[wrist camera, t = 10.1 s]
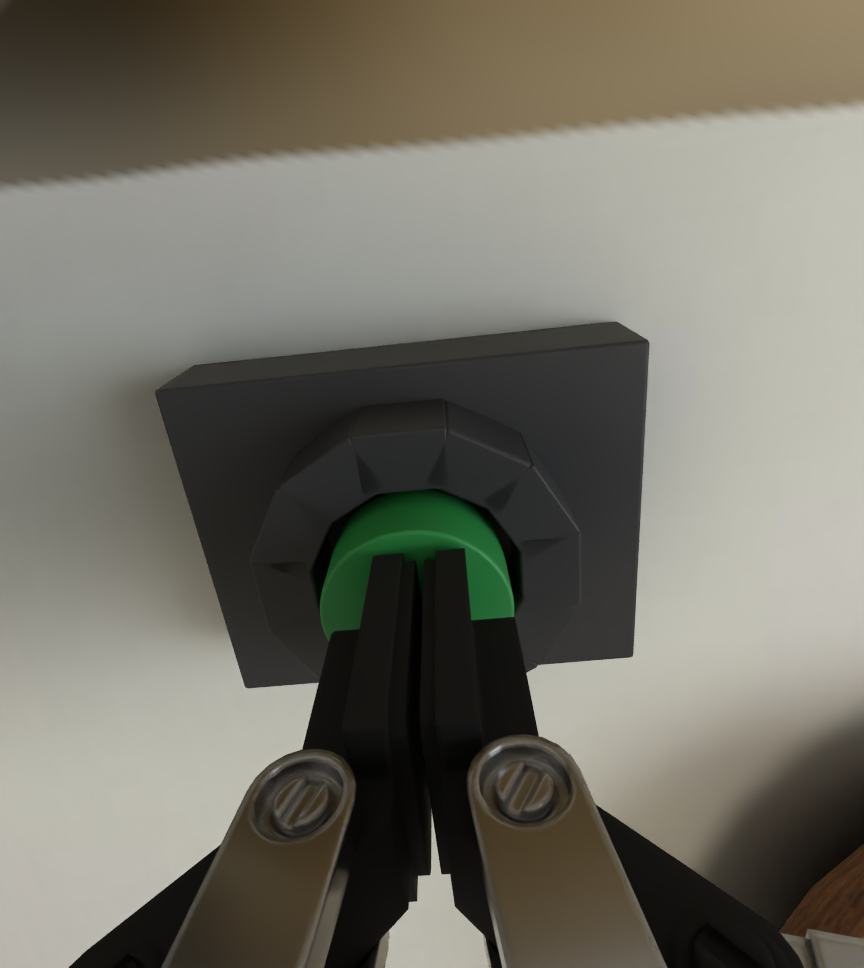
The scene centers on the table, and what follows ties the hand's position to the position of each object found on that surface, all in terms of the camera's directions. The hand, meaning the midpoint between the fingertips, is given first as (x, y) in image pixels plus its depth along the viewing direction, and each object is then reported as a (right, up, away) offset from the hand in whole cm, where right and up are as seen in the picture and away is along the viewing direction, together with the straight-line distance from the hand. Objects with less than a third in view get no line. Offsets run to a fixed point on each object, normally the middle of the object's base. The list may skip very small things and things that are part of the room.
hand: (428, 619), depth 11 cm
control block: (0, +2, +5) cm, 5 cm away
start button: (0, +1, +2) cm, 2 cm away
